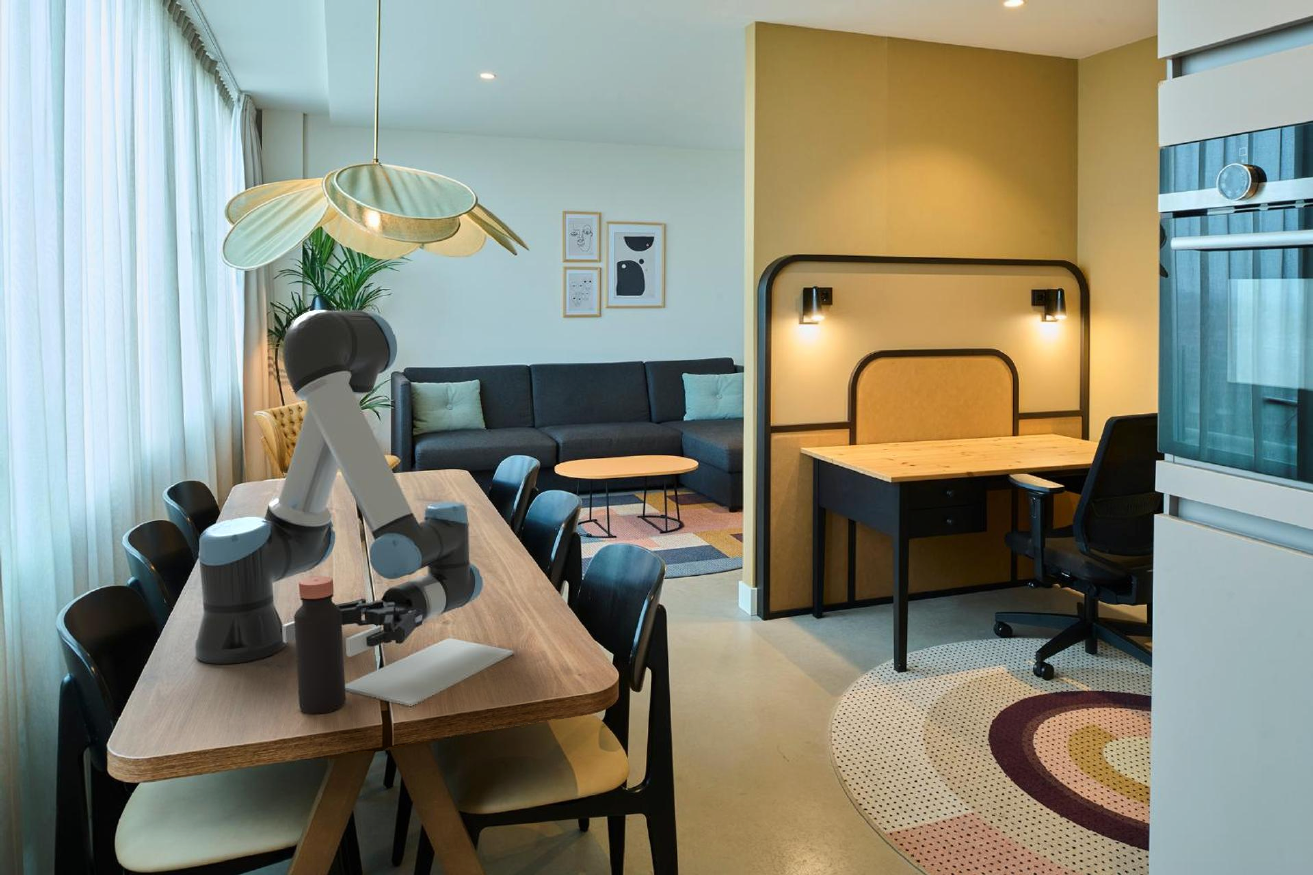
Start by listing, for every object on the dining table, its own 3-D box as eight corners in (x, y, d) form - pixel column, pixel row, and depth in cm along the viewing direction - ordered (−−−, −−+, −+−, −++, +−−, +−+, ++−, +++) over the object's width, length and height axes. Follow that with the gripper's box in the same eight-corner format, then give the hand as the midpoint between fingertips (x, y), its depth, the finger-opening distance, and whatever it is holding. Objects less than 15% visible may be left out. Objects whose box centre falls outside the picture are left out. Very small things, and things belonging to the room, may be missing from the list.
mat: (341, 689, 150) (341, 686, 150) (448, 640, 172) (448, 637, 172) (411, 706, 143) (410, 703, 143) (513, 653, 165) (513, 650, 165)
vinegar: (339, 713, 140) (333, 586, 138) (293, 715, 140) (286, 587, 137) (350, 696, 147) (344, 573, 145) (306, 697, 146) (299, 575, 144)
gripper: (470, 634, 154) (377, 678, 135) (360, 613, 166) (260, 651, 147) (469, 591, 153) (375, 628, 134) (358, 573, 165) (257, 605, 146)
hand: (315, 640), depth 141 cm, fingers open, 13 cm apart
